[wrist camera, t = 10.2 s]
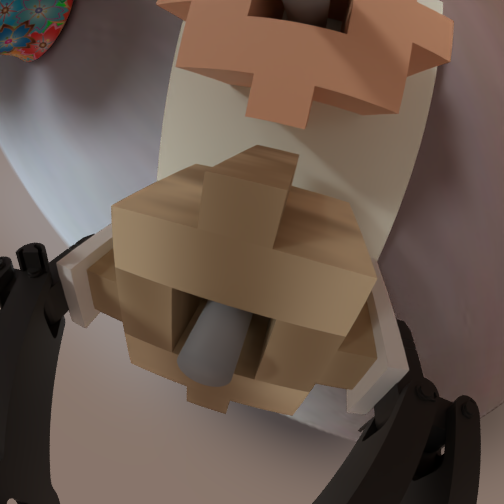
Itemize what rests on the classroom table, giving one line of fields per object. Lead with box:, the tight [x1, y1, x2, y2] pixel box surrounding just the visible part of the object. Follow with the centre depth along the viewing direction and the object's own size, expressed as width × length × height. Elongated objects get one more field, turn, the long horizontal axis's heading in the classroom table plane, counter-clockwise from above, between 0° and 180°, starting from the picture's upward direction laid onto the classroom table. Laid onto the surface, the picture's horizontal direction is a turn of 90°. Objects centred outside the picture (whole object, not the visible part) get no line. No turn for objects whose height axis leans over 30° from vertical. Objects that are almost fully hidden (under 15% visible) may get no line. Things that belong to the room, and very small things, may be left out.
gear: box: [87, 145, 377, 416], centre depth 11 cm, size 10×10×6 cm
